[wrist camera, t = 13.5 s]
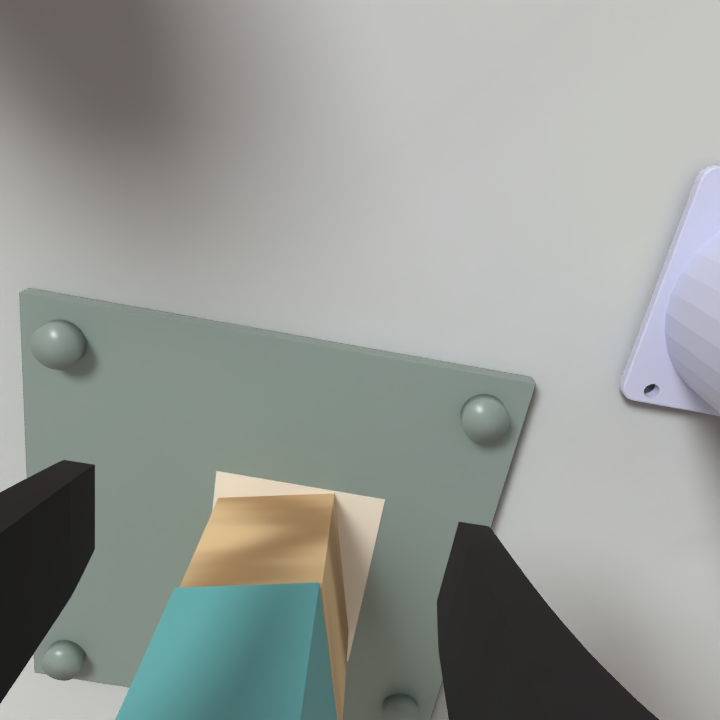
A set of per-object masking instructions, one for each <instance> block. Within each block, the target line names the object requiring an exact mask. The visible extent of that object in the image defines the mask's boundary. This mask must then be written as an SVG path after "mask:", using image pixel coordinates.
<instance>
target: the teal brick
mask: <svg viewBox="0 0 720 720" xmlns="http://www.w3.org/2000/svg"><path fill="white" fill-rule="evenodd" d="M116 720H337V714H336V706H335V699H334V691H333V683H332V676H331V668H330V660H329V653H328V645H327V637H326V630H325V622H324V615H323V607H322V599H321V592H320V584H319V582H318V583H290V584H262V585H234V586H206V587H179V588H174V590H173V592H172V594H171V596H170V599H169V601H168V603H167V605H166V608H165V610H164V612H163V614H162V617H161V619H160V621H159V623H158V626H157V628H156V630H155V632H154V635H153V637H152V639H151V641H150V644H149V646H148V648H147V650H146V653H145V655H144V657H143V659H142V662H141V664H140V666H139V668H138V671H137V673H136V675H135V677H134V679H133V682H132V684H131V686H130V688H129V691H128V693H127V695H126V697H125V700H124V702H123V704H122V706H121V709H120V711H119V713H118V715H117V718H116Z"/></svg>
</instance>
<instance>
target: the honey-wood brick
mask: <svg viewBox="0 0 720 720" xmlns="http://www.w3.org/2000/svg"><path fill="white" fill-rule="evenodd" d="M318 582H319V584H320V592H321V599H322V607H323V615H324V622H325V630H326V637H327V645H328V653H329V660H330V668H331V676H332V683H333V691H334V699H335V706H336V714H337V720H343V708H344V693H345V679H346V664H347V649H348V635H349V631H348V621H347V612H346V602H345V592H344V583H343V573H342V563H341V553H340V544H339V534H338V524H337V515H336V505H335V495H334V493H329V494H304V495H279V496H253V497H228V498H218V500H217V502H216V504H215V507H214V509H213V511H212V514H211V516H210V518H209V521H208V523H207V525H206V527H205V530H204V532H203V534H202V537H201V539H200V541H199V544H198V546H197V548H196V551H195V553H194V555H193V557H192V560H191V562H190V564H189V567H188V569H187V571H186V574H185V576H184V578H183V580H182V583H181V585H180V587H206V586H234V585H262V584H290V583H318Z"/></svg>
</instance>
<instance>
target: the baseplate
mask: <svg viewBox="0 0 720 720" xmlns="http://www.w3.org/2000/svg"><path fill="white" fill-rule="evenodd" d="M19 297H20V322H21V347H22V372H23V396H24V421H25V446H26V471H27V478H29V477H30V476H32V475H34V474H36V473H38V472H40V471H42V470H44V469H46V468H48V467H50V466H52V465H54V464H56V463H58V462H60V461H62V460H68V461H75V462H81V463H87V464H94V465H95V550H94V552H93V554H92V556H91V558H90V560H89V563H88V565H87V567H86V569H85V571H84V573H83V575H82V577H81V579H80V581H79V583H78V585H77V587H76V589H75V591H74V593H73V594H72V596H71V598H70V600H69V601H68V603H67V604H66V606H65V607H64V609H63V610H62V612H61V613H60V615H59V616H58V618H57V619H56V621H55V622H54V624H53V625H52V627H51V629H50V630H49V632H48V633H47V635H46V636H45V638H44V639H43V641H42V642H41V644H40V645H39V646H38V648H37V649H36V651H35V652H34V669H35V673H41V674H47V675H49V676H50V677H52V678H54V679H57V680H70V679H72V678H73V679H79V680H85V681H92V682H98V683H104V684H111V685H117V686H123V687H130V686H131V684H132V682H133V679H134V677H135V675H136V673H137V671H138V668H139V666H140V664H141V662H142V659H143V657H144V655H145V653H146V650H147V648H148V646H149V644H150V641H151V639H152V637H153V635H154V632H155V630H156V628H157V626H158V623H159V621H160V619H161V617H162V614H163V612H164V610H165V608H166V605H167V603H168V601H169V599H170V596H171V594H172V592H173V590H174V588H179V587H180V585H181V583H182V580H183V578H184V576H185V574H186V571H187V569H188V567H189V564H190V562H191V560H192V557H193V555H194V553H195V551H196V548H197V546H198V544H199V541H200V539H201V537H202V534H203V532H204V530H205V527H206V525H207V523H208V521H209V518H210V516H211V514H212V511H213V509H214V507H215V504H216V502H217V500H218V498H228V497H253V496H279V495H304V494H329V493H334V495H335V505H336V515H337V524H338V534H339V544H340V553H341V563H342V573H343V583H344V592H345V602H346V612H347V621H348V631H349V635H348V649H347V664H346V679H345V693H344V708H343V720H430V719H431V716H432V712H433V709H434V706H435V703H436V700H437V696H438V693H439V690H440V687H441V684H442V680H443V678H442V671H441V665H440V658H439V651H438V628H437V598H438V595H439V591H440V588H441V584H442V580H443V577H444V573H445V569H446V566H447V562H448V559H449V555H450V551H451V548H452V544H453V541H454V537H455V533H456V530H457V526H458V522H465V523H471V524H478V525H484V526H489V527H490V528H491V524H492V521H493V518H494V515H495V512H496V509H497V505H498V502H499V499H500V496H501V493H502V489H503V486H504V483H505V480H506V477H507V473H508V470H509V467H510V464H511V461H512V458H513V454H514V451H515V448H516V445H517V442H518V438H519V435H520V432H521V429H522V426H523V423H524V419H525V416H526V413H527V410H528V407H529V403H530V400H531V397H532V394H533V391H534V388H535V382H534V380H533V379H532V377H528V376H522V375H517V374H511V373H506V372H500V371H494V370H489V369H483V368H477V367H472V366H466V365H460V364H455V363H449V362H443V361H438V360H432V359H427V358H421V357H415V356H410V355H404V354H398V353H393V352H387V351H381V350H376V349H370V348H364V347H359V346H353V345H348V344H342V343H336V342H331V341H325V340H319V339H314V338H308V337H302V336H297V335H291V334H285V333H280V332H274V331H269V330H263V329H257V328H252V327H246V326H240V325H235V324H229V323H223V322H218V321H212V320H206V319H201V318H195V317H190V316H184V315H178V314H173V313H167V312H161V311H156V310H150V309H144V308H139V307H133V306H127V305H122V304H116V303H111V302H105V301H99V300H94V299H88V298H82V297H77V296H71V295H65V294H60V293H54V292H48V291H43V290H37V289H32V288H28V289H26V290H24V291H22V292H20V293H19Z"/></svg>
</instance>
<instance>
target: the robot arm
mask: <svg viewBox="0 0 720 720" xmlns="http://www.w3.org/2000/svg"><path fill="white" fill-rule="evenodd" d="M650 384H655V387H654V389H653V390H652V391H651V392H649V393H644V389H645V388H646V386H648V385H650ZM619 387H620V391H621V392H622V393H623V395H624V396H625V397H626V398H627V399H629V400H632V401H637V402H643V403H649V404H654V405H660V406H666V407H671V408H677V409H683V410H688V411H694V412H700V413H705V414H711V415H717V416H720V166H719V165H711V166H709V167H706V168H704V169H703V170H702V171H701V172H700V173H699V174H698V176H697V177H696V179H695V182H694V185H693V187H692V190H691V193H690V195H689V198H688V201H687V203H686V206H685V209H684V212H683V214H682V217H681V220H680V222H679V225H678V228H677V230H676V233H675V236H674V238H673V241H672V244H671V247H670V249H669V252H668V255H667V257H666V260H665V263H664V265H663V268H662V271H661V273H660V276H659V279H658V281H657V284H656V287H655V290H654V292H653V295H652V298H651V300H650V303H649V306H648V308H647V311H646V314H645V316H644V319H643V322H642V324H641V327H640V330H639V333H638V335H637V338H636V341H635V343H634V346H633V349H632V351H631V354H630V357H629V359H628V362H627V365H626V367H625V370H624V373H623V376H622V378H621V381H620V386H619ZM94 550H95V465H94V464H87V463H81V462H75V461H68V460H62V461H60V462H58V463H56V464H54V465H52V466H50V467H48V468H46V469H44V470H42V471H40V472H38V473H36V474H34V475H32V476H30V477H29V478H27V479H25V480H23V481H21V482H19V483H17V484H15V485H14V486H12V487H10V488H8V489H6V490H4V491H2V492H0V703H1V702H2V700H3V699H4V697H5V696H6V694H7V693H8V691H9V690H10V688H11V687H12V685H13V684H14V682H15V681H16V679H17V678H18V676H19V675H20V673H21V672H22V670H23V669H24V667H25V666H26V664H27V663H28V661H29V660H30V658H31V657H32V655H33V654H34V652H35V651H36V649H37V648H38V646H39V645H40V644H41V642H42V641H43V639H44V638H45V636H46V635H47V633H48V632H49V630H50V629H51V627H52V625H53V624H54V622H55V621H56V619H57V618H58V616H59V615H60V613H61V612H62V610H63V609H64V607H65V606H66V604H67V603H68V601H69V600H70V598H71V596H72V594H73V593H74V591H75V589H76V587H77V585H78V583H79V581H80V579H81V577H82V575H83V573H84V571H85V569H86V567H87V565H88V563H89V560H90V558H91V556H92V554H93V552H94ZM437 628H438V651H439V658H440V665H441V671H442V678H443V684H444V691H445V697H446V703H447V710H448V716H449V720H659V719H658V718H656V717H655V716H654V715H653V714H652V713H651V712H650V711H648V710H647V709H646V708H645V707H644V706H643V705H642V704H641V703H640V702H639V701H637V700H636V699H635V698H634V697H633V696H632V695H631V694H630V693H629V692H628V691H627V690H626V689H625V688H624V687H623V686H622V685H621V684H620V683H619V682H618V681H617V680H616V679H615V678H614V677H613V676H612V675H611V674H610V673H609V672H608V671H607V670H606V669H605V668H604V667H603V666H602V665H601V664H600V663H599V662H598V661H597V660H596V659H595V658H594V657H593V656H592V655H591V654H590V653H589V652H588V651H587V650H586V649H585V647H584V646H583V645H582V644H581V643H580V642H579V641H578V639H577V638H576V637H575V636H574V635H573V634H572V633H571V632H570V630H569V629H568V628H567V627H566V626H565V625H564V624H563V622H562V621H561V620H560V619H559V618H558V616H557V615H556V614H555V613H554V612H553V610H552V609H551V608H550V607H549V606H548V604H547V603H546V602H545V601H544V599H543V598H542V597H541V595H540V594H539V593H538V592H537V590H536V589H535V588H534V586H533V585H532V584H531V583H530V581H529V580H528V579H527V577H526V576H525V575H524V573H523V572H522V571H521V569H520V568H519V567H518V565H517V564H516V562H515V561H514V560H513V558H512V557H511V556H510V554H509V553H508V552H507V550H506V549H505V547H504V546H503V545H502V543H501V542H500V540H499V539H498V538H497V536H496V535H495V534H494V532H493V531H492V530H491V528H490V527H489V526H484V525H478V524H471V523H465V522H458V526H457V530H456V533H455V537H454V541H453V544H452V548H451V551H450V555H449V559H448V562H447V566H446V569H445V573H444V577H443V580H442V584H441V588H440V591H439V595H438V598H437Z"/></svg>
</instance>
